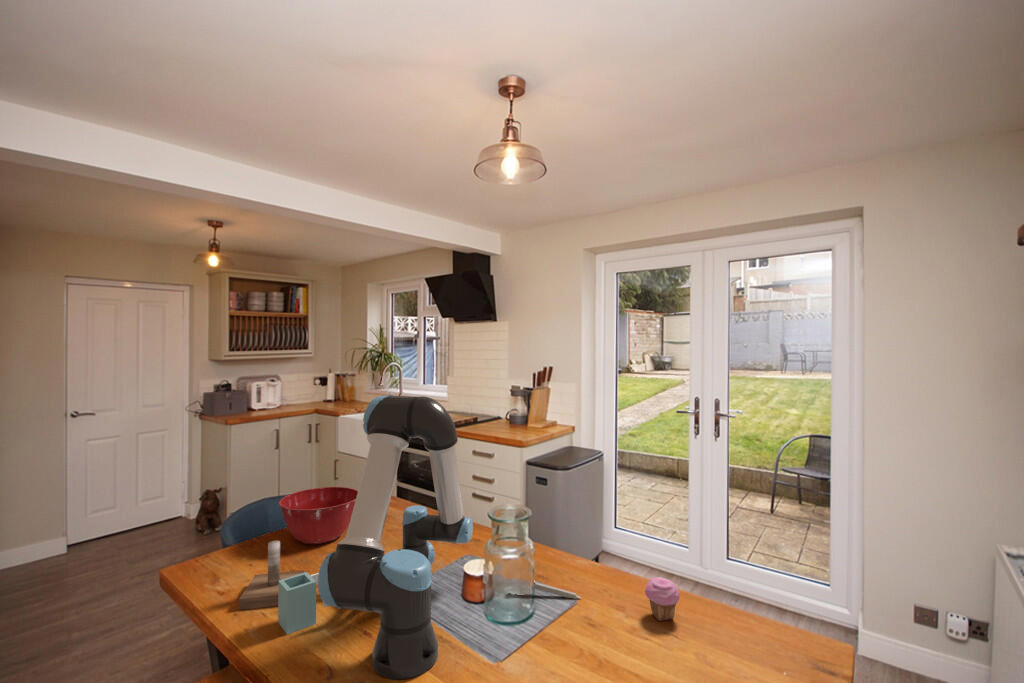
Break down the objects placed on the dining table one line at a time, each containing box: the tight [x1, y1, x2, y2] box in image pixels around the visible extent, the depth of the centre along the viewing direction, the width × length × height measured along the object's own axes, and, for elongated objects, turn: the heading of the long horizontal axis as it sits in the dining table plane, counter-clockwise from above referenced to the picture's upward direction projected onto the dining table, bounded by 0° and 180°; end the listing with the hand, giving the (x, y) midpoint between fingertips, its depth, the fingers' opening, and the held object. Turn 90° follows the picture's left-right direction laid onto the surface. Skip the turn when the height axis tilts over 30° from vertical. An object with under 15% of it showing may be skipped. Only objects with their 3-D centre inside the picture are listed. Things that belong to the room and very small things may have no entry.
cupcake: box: [644, 576, 681, 622], centre depth 129 cm, size 9×9×10 cm
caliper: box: [534, 580, 581, 600], centre depth 139 cm, size 20×1×6 cm, turn 81°
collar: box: [277, 571, 317, 635], centre depth 125 cm, size 7×7×11 cm
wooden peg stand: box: [238, 540, 305, 611], centre depth 139 cm, size 14×14×15 cm
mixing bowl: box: [278, 486, 358, 545], centre depth 181 cm, size 28×28×16 cm
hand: (313, 591), depth 129 cm, fingers open, 13 cm apart
